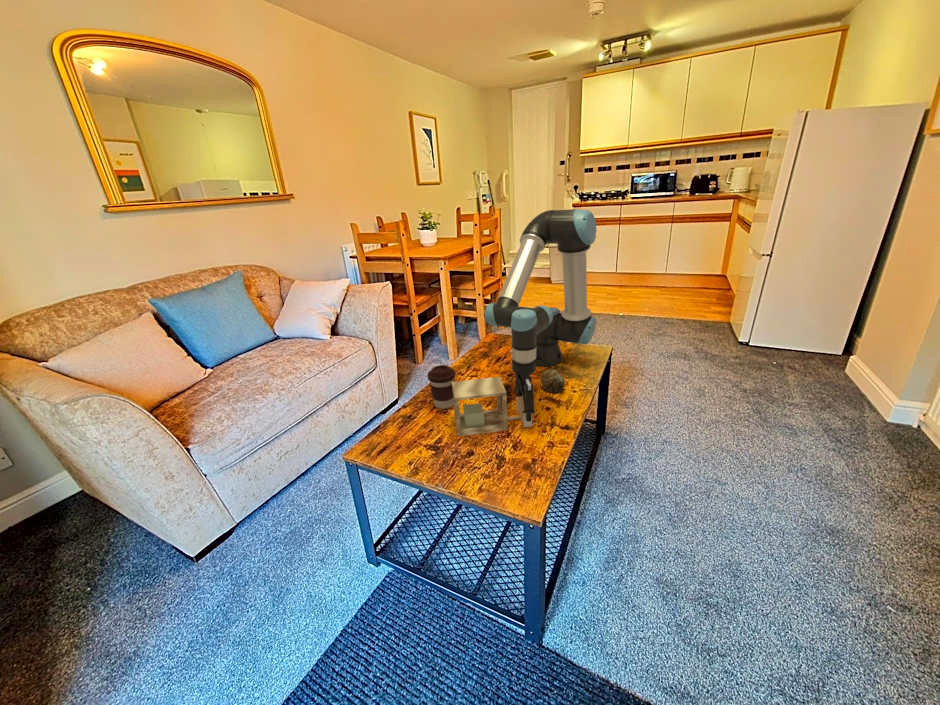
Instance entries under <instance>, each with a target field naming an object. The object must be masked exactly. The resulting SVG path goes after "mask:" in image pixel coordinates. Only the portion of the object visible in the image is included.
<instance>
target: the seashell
mask: <svg viewBox="0 0 940 705" xmlns="http://www.w3.org/2000/svg"><path fill="white" fill-rule="evenodd" d="M540 383H541V386H542V388H543V389H544V390H545V391H547V392H549V393H552V394H555V393H560V392H561V391H562V390H563V389H564V387H565V379H564V377H563V375H562V374H561V373H560V371H559V370H557V369H553V368H550V369H546V370H544V371H543V372H542V373H541V375H540Z"/></svg>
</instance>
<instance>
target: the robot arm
mask: <svg viewBox="0 0 940 705" xmlns="http://www.w3.org/2000/svg"><path fill="white" fill-rule="evenodd" d="M596 233H597V221H596V218H595V215H594V214H593V212H592V211H591V210H589V209H580V208H577V209H576V208H573V209H557V210H556V209H549V210H545V211H543V212H541V213H540V214H538V215H536V216H535V217H534V218H532V220H531V221H529V222H528V224H527V225H526V227H525V228H524V230H523V231H522V234H521V236H520V238H519V243H520V245H519V248H518V250H517V252H516V255H515V257H514V259H513V261H512V265H511V266H510V269H509V271H508V274H507V277H506V278H505V280H504V284H503V285H502V288H501V291H500V293H499V295H498V298H497V300H496V301H495V302H492V303H488V304H487V305H486V307H485V310H484V320H485V322H486V324H488V325H490V326H495V327H502V328H507V329H508V328H509V329H511V350H510V351H509V352H510V354H511V369H512V372H513V373H514V374H515V381H514V382H515V383H514V391H515V392H516V393H515V395H516V413H519V398H523V402H524V411H522V413H523V421H522V423H523V428H529V427H533V414H535V411H536V410H535V398H534V383H532V382H533V381H532V380H533V379H532V376H531V375H532V374H533V373H535V372H536V371H537V366H538V367H552V366H557V365H559V364H560V363H562V361H563V353H562V350H561V347H560V346H561V345H560V342H567V343H574V344H577V345H588V344H589V343H590V342H591V340H592V338H593V337H594V333H595V330H596V327H597V317H595V316H593V315H592V311H591V310H590V308H588V288H587V287H588V286H587V284H588V283H587V282H588V280H587V279H588V277H587V275H588V274H587V272H588V271H587V252H588V251H589V250H590V249H591V245H593V244H594V243H595V241H596V237H597V234H596ZM549 244H555V245H556V244H557V251H558V252H559V253H560V254H561V256H562V257H561V258H562V260H561V261H562V279H563V280H562V281H563V295H564V296H563V297H564V300H563V301H564V309H563V310H562V311H561V310H560V308H557V307H554V306H553V307H550V306H549V307H548V306H545V305H543V304H542V305H541V304H540V305H537V306H534V307H527V306H526V307H525V306H519V305H520V302H521V300H522V297H523V295H524V292H525V290H526V287H527V285H528V283H529V280H530V278H531V275H532V272H533V270H534V267H535V265H536V263H537V260H538V257H539V255H540V252H542V251H544V250H545V247H546V246H547V245H549Z"/></svg>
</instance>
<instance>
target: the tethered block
mask: <svg viewBox="0 0 940 705" xmlns="http://www.w3.org/2000/svg"><path fill="white" fill-rule="evenodd" d="M484 411H485V410H484V409H483V404H482V403H481V402H479V403H472V404H463V413H464V421H465V426H466V428H474V427H482V426H485V424H484V423H493V422H501V421H503V418H495V419H486V420H484ZM522 411H524V402H523V398H519V412H518V415H513V416H507V422H508V421H515V420H516V421H517V420H520V422H523V413H522Z"/></svg>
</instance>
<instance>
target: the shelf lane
mask: <svg viewBox="0 0 940 705" xmlns="http://www.w3.org/2000/svg"><path fill="white" fill-rule="evenodd" d="M452 390H453V401H454V405H453V413H454V418H455V419H454V420H455V426H456V431H457V437H463V436H472V435H481V434H488V433H495V432H503V431H508V421H507V417H508V403H507V399H508V398H507V391H506V387H505V386H504V384H503V381H502V379H501V377H500V376H494V377H484V378H475V379H468V380H458V381H455V382H452ZM488 397H489V398H490V397H496V404H497V405H496V407H497V408H495V409H488V410H483V411H484V420H486V419H495V418H503V421H501V422H493V423H484V424H485V426H482V427H474V428H466V426H465V421H464V412H463V413H461V411H460V402H459V401H463V400H471V399H472V400H473V399H480V398H488Z"/></svg>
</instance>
